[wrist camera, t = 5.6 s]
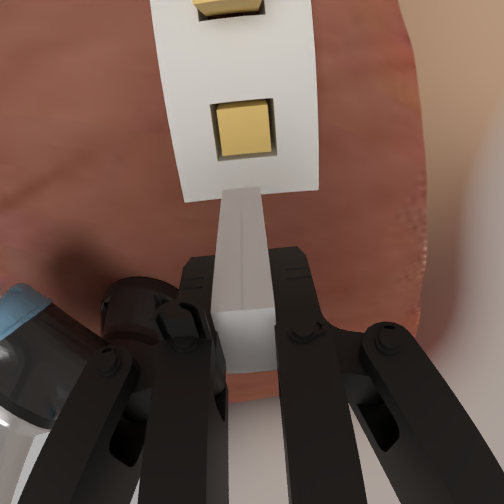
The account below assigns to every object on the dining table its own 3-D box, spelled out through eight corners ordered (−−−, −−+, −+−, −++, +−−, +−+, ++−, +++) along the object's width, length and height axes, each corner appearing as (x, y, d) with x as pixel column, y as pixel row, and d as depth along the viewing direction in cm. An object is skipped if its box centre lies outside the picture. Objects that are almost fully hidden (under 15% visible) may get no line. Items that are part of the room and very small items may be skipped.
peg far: (265, 129, 31) (271, 151, 25) (226, 132, 32) (222, 156, 25) (261, 92, 29) (267, 104, 23) (222, 96, 29) (216, 109, 23)
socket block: (303, 159, 34) (318, 189, 28) (195, 169, 35) (184, 202, 28) (287, -49, 20) (301, -75, 14) (166, -36, 20) (144, -57, 14)
